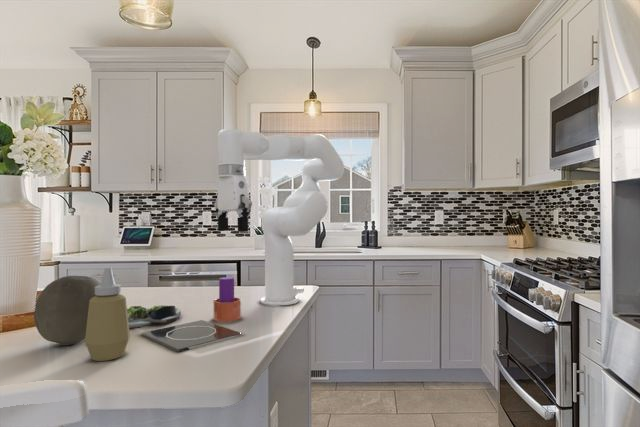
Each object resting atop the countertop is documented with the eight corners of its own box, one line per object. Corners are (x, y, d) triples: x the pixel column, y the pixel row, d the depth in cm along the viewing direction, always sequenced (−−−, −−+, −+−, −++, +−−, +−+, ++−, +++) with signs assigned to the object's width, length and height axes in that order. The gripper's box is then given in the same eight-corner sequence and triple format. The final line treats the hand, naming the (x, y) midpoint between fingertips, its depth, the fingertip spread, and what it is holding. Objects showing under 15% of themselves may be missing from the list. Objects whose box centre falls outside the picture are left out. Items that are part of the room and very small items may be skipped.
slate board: (201, 322, 107) (201, 319, 107) (241, 335, 95) (241, 332, 95) (141, 335, 96) (141, 332, 96) (178, 352, 83) (178, 348, 83)
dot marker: (228, 315, 112) (228, 276, 112) (237, 318, 109) (237, 278, 110) (216, 318, 109) (216, 278, 109) (224, 320, 106) (224, 279, 107)
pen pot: (230, 315, 115) (230, 296, 115) (246, 319, 110) (246, 299, 110) (208, 320, 109) (208, 300, 109) (223, 325, 104) (223, 303, 104)
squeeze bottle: (138, 352, 83) (138, 266, 83) (106, 366, 76) (106, 271, 76) (109, 348, 86) (109, 264, 86) (74, 361, 78) (75, 269, 78)
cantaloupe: (89, 351, 84) (89, 280, 84) (18, 353, 83) (18, 281, 83) (118, 332, 98) (118, 271, 98) (58, 334, 97) (58, 272, 97)
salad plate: (91, 333, 97) (91, 314, 97) (111, 315, 114) (111, 299, 115) (175, 327, 102) (175, 309, 102) (182, 311, 119) (182, 296, 119)
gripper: (260, 170, 113) (261, 231, 113) (225, 175, 125) (226, 229, 125) (238, 169, 108) (239, 232, 108) (204, 174, 119) (205, 231, 120)
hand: (232, 231), depth 116 cm, fingers open, 9 cm apart
